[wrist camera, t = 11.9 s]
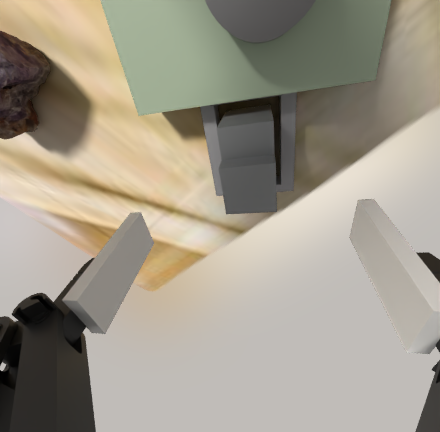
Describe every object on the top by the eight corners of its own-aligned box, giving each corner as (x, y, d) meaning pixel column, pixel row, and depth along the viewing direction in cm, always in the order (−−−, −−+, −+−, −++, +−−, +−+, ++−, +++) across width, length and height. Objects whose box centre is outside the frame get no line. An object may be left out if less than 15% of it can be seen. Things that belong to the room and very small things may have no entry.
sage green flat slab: (180, 190, 34) (158, 226, 27) (106, -68, 20) (17, -139, 12) (339, 178, 29) (365, 218, 22) (392, -165, 15) (513, -365, 8)
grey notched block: (234, 172, 31) (226, 214, 23) (226, 110, 27) (212, 134, 19) (272, 169, 30) (276, 211, 22) (270, 104, 26) (275, 126, 18)
